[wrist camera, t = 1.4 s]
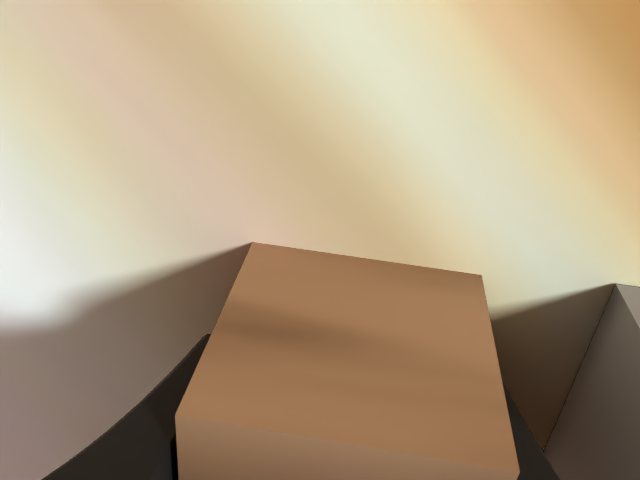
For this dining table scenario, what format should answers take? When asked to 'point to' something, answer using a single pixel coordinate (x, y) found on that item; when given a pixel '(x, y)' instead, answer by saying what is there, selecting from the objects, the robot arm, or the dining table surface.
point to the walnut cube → (347, 376)
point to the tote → (604, 400)
